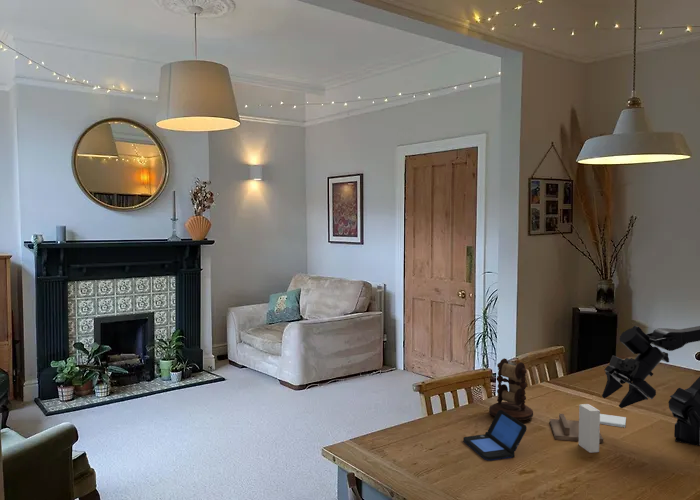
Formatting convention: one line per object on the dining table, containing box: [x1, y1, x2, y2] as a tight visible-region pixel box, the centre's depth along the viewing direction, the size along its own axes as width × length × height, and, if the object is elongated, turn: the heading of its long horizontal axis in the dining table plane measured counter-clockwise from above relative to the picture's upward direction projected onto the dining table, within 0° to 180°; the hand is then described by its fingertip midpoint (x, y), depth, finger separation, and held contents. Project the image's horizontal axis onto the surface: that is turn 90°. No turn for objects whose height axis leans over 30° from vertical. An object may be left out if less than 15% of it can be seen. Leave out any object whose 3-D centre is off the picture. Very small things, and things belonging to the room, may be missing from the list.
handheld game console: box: [462, 410, 528, 461], centre depth 171 cm, size 16×13×9 cm
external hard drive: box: [600, 413, 627, 429], centre depth 194 cm, size 2×8×12 cm
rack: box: [549, 413, 604, 444], centre depth 184 cm, size 14×15×4 cm
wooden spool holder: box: [488, 358, 534, 421], centre depth 198 cm, size 15×15×20 cm
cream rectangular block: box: [578, 403, 601, 454], centre depth 171 cm, size 3×6×12 cm, turn 9°
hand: (611, 402), depth 173 cm, fingers open, 9 cm apart
